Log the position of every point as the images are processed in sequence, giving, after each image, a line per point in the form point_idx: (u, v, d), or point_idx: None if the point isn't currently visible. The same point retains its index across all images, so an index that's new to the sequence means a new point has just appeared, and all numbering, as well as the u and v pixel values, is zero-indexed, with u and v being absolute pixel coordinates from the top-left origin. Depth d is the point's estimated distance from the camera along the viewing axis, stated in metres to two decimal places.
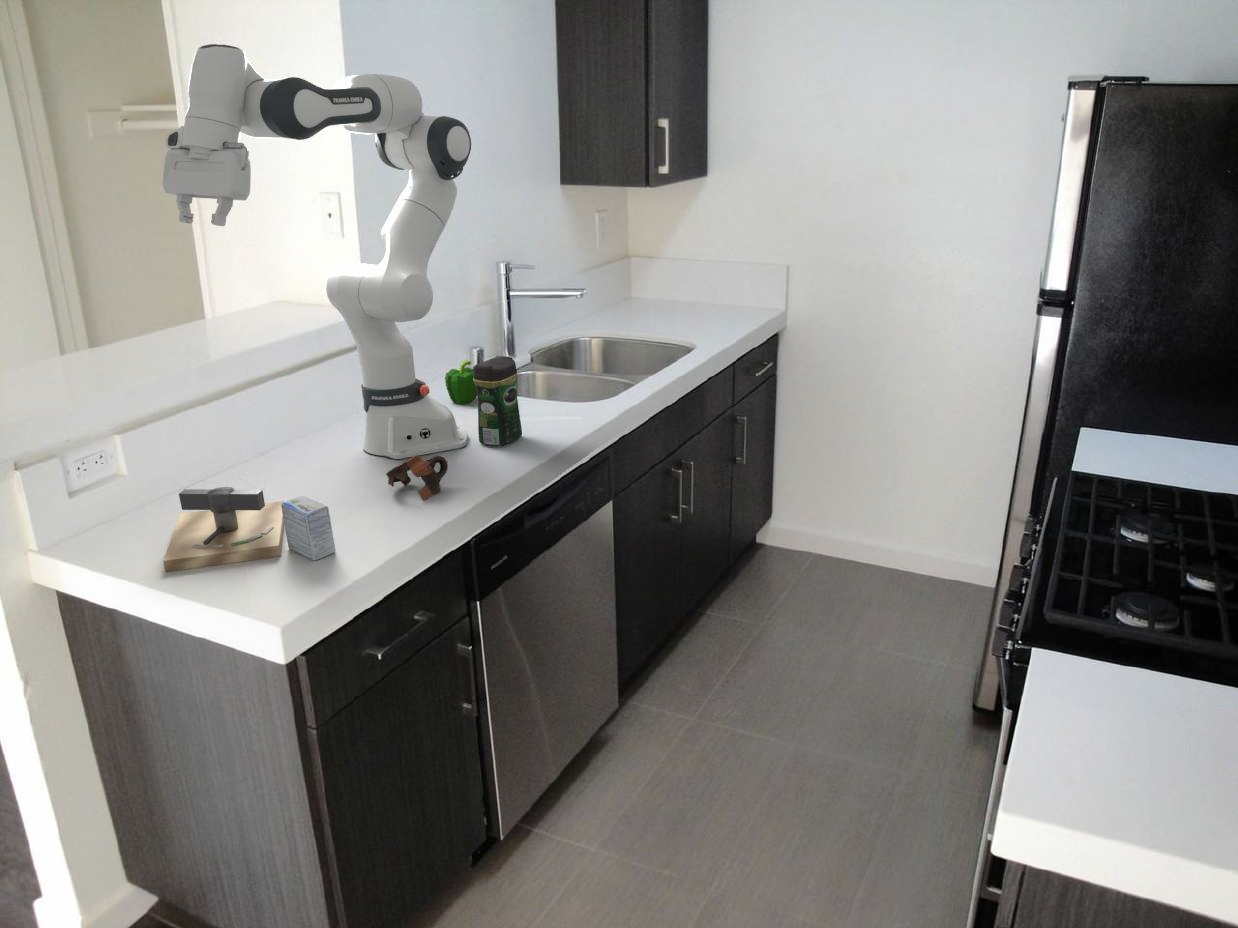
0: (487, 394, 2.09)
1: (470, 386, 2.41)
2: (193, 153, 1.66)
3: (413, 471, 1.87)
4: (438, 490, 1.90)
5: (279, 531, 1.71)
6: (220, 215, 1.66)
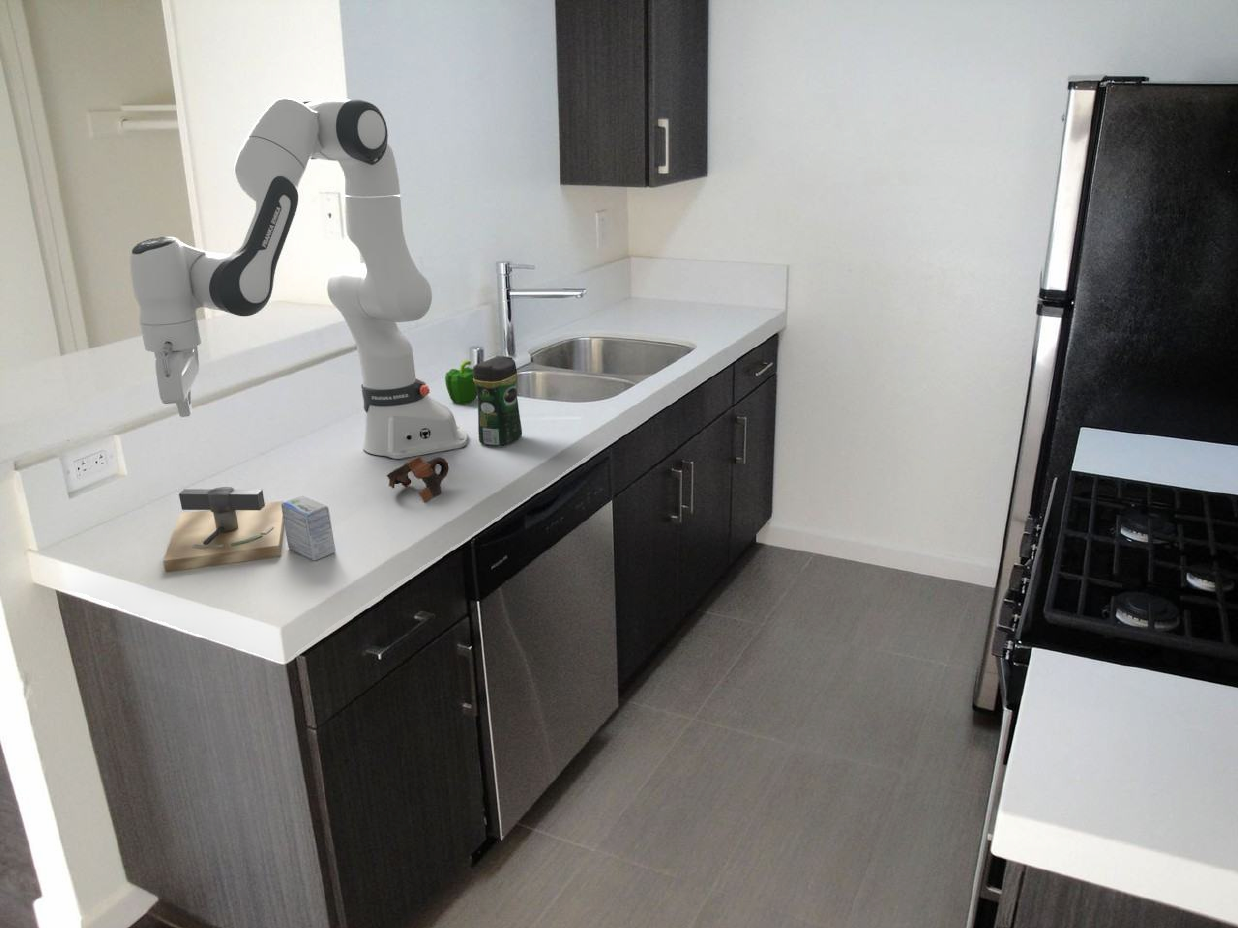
0: (487, 394, 2.09)
1: (470, 386, 2.41)
2: None
3: (414, 473, 1.86)
4: (439, 492, 1.89)
5: (279, 531, 1.71)
6: (181, 407, 1.71)
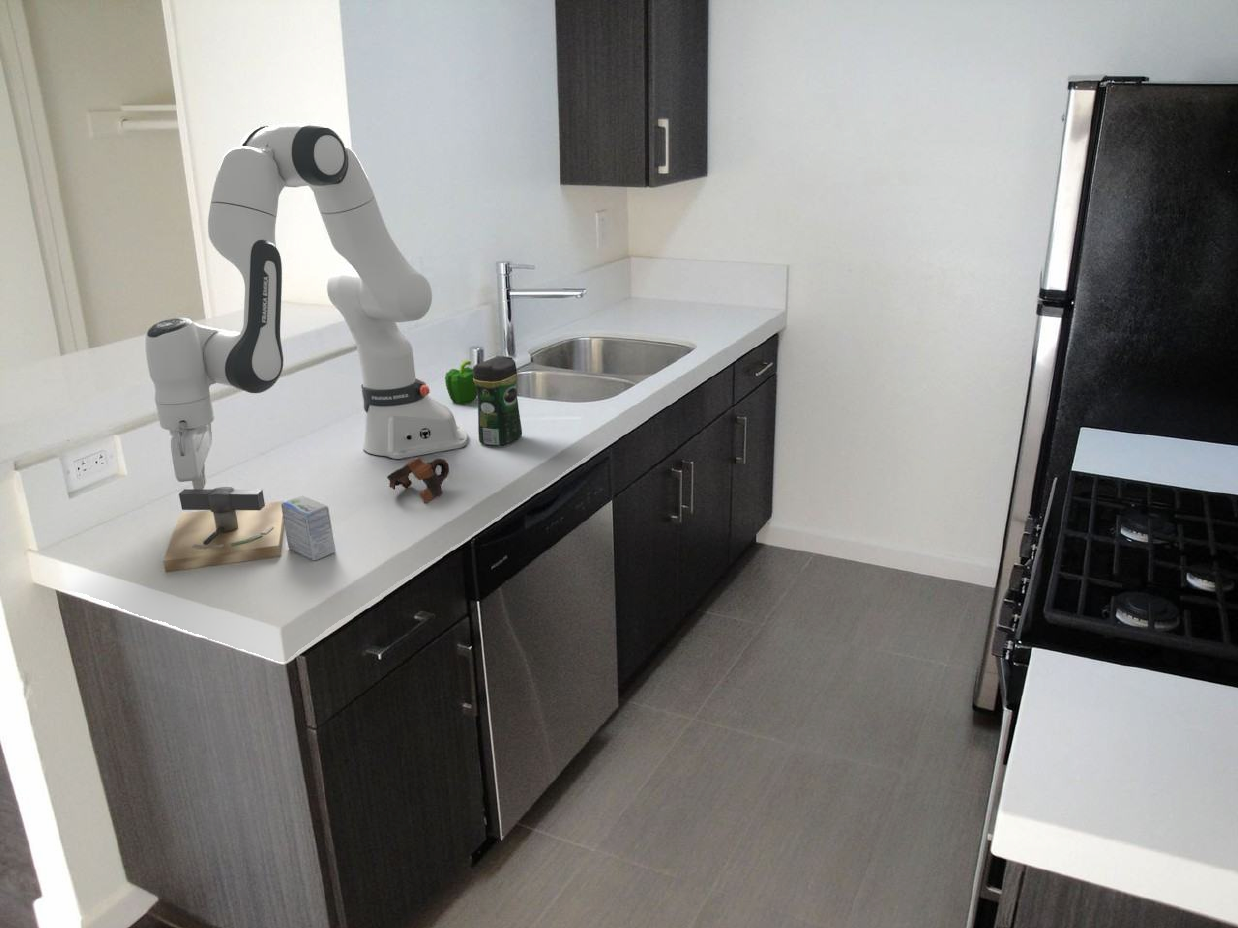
0: (487, 394, 2.09)
1: (470, 386, 2.41)
2: (169, 430, 1.72)
3: (415, 474, 1.85)
4: (440, 493, 1.88)
5: (279, 531, 1.71)
6: (195, 481, 1.75)
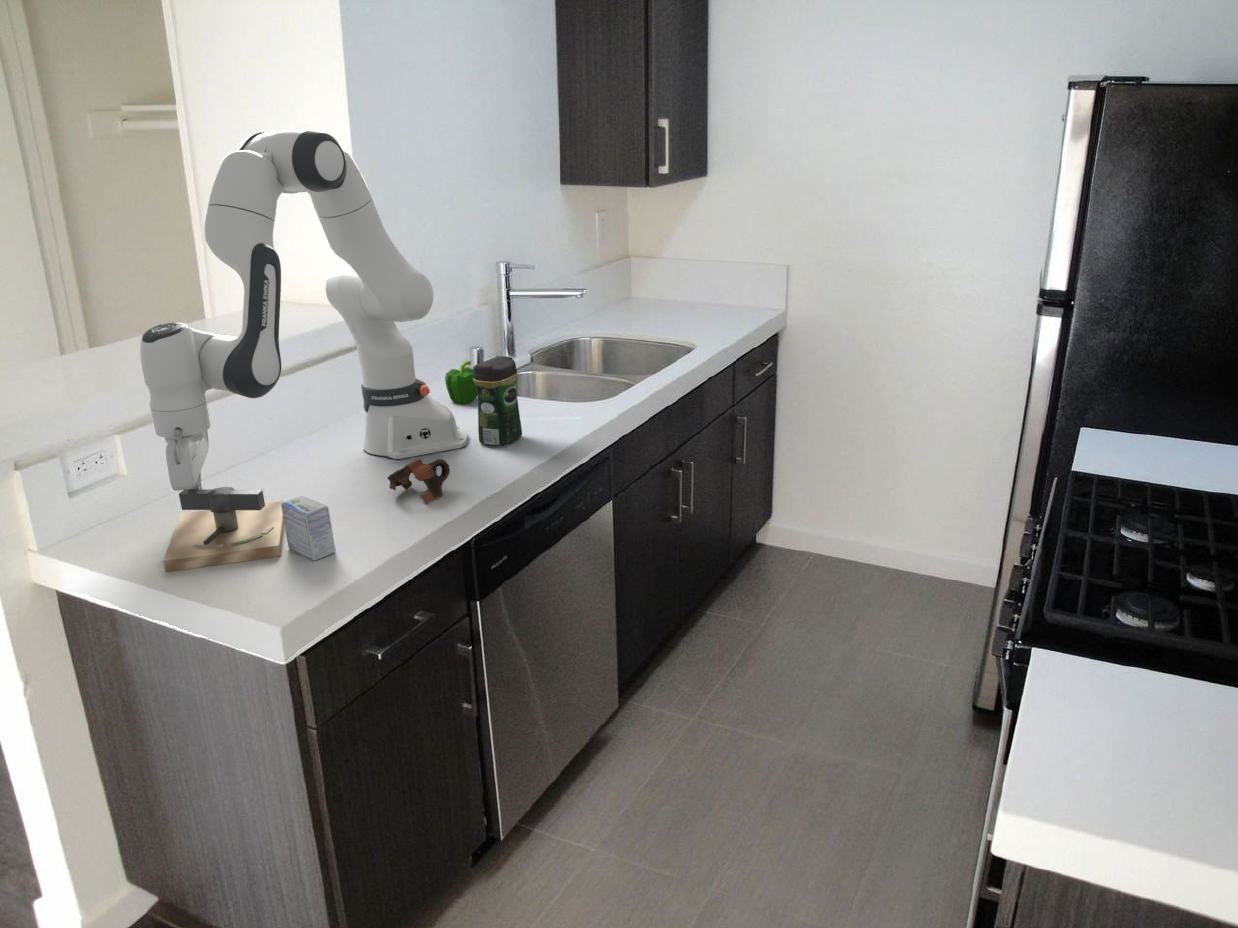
0: (487, 394, 2.09)
1: (470, 386, 2.41)
2: (165, 437, 1.69)
3: (415, 475, 1.85)
4: (440, 494, 1.88)
5: (279, 531, 1.71)
6: None
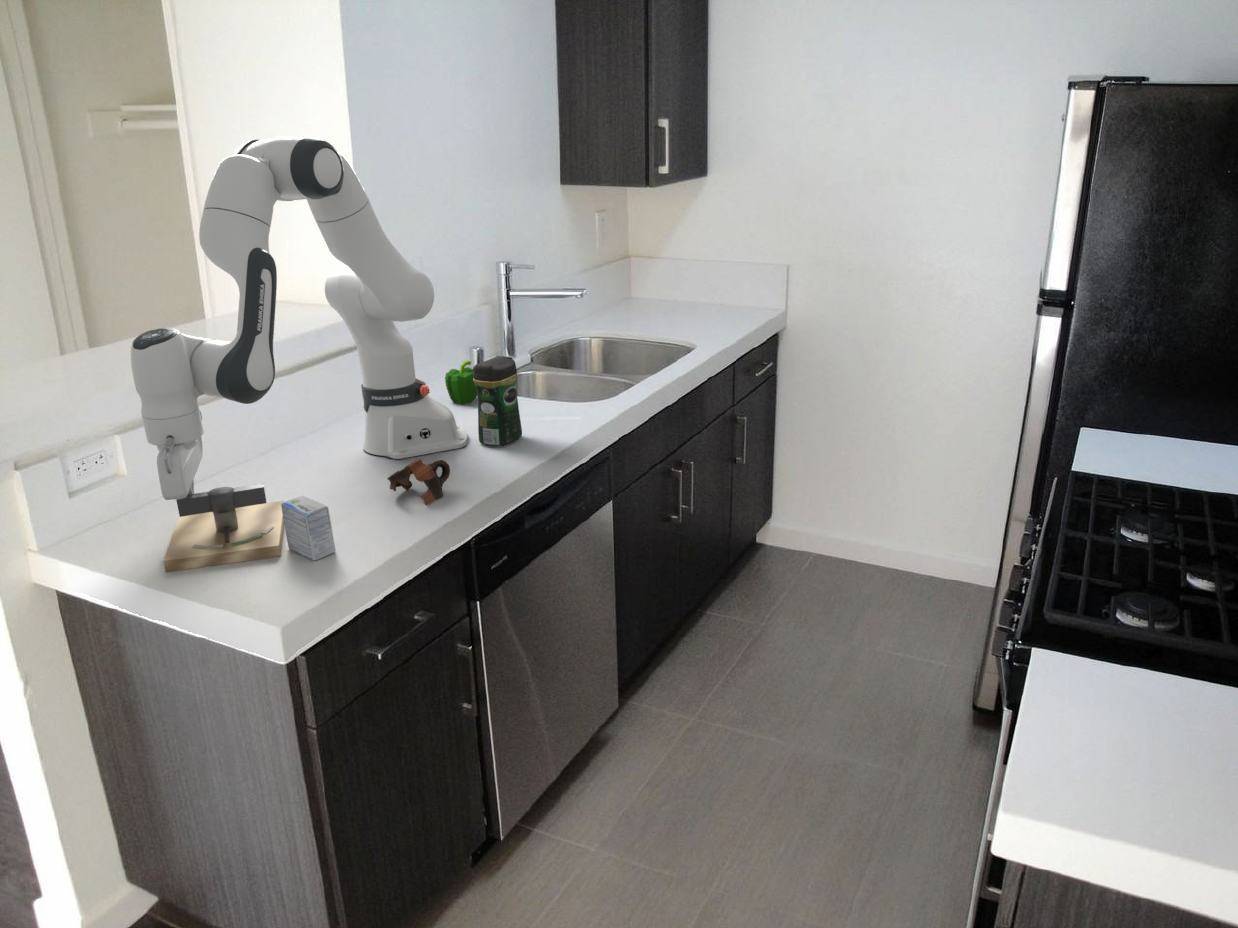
0: (487, 394, 2.09)
1: (470, 386, 2.41)
2: None
3: (416, 475, 1.84)
4: (441, 495, 1.88)
5: (279, 531, 1.71)
6: None
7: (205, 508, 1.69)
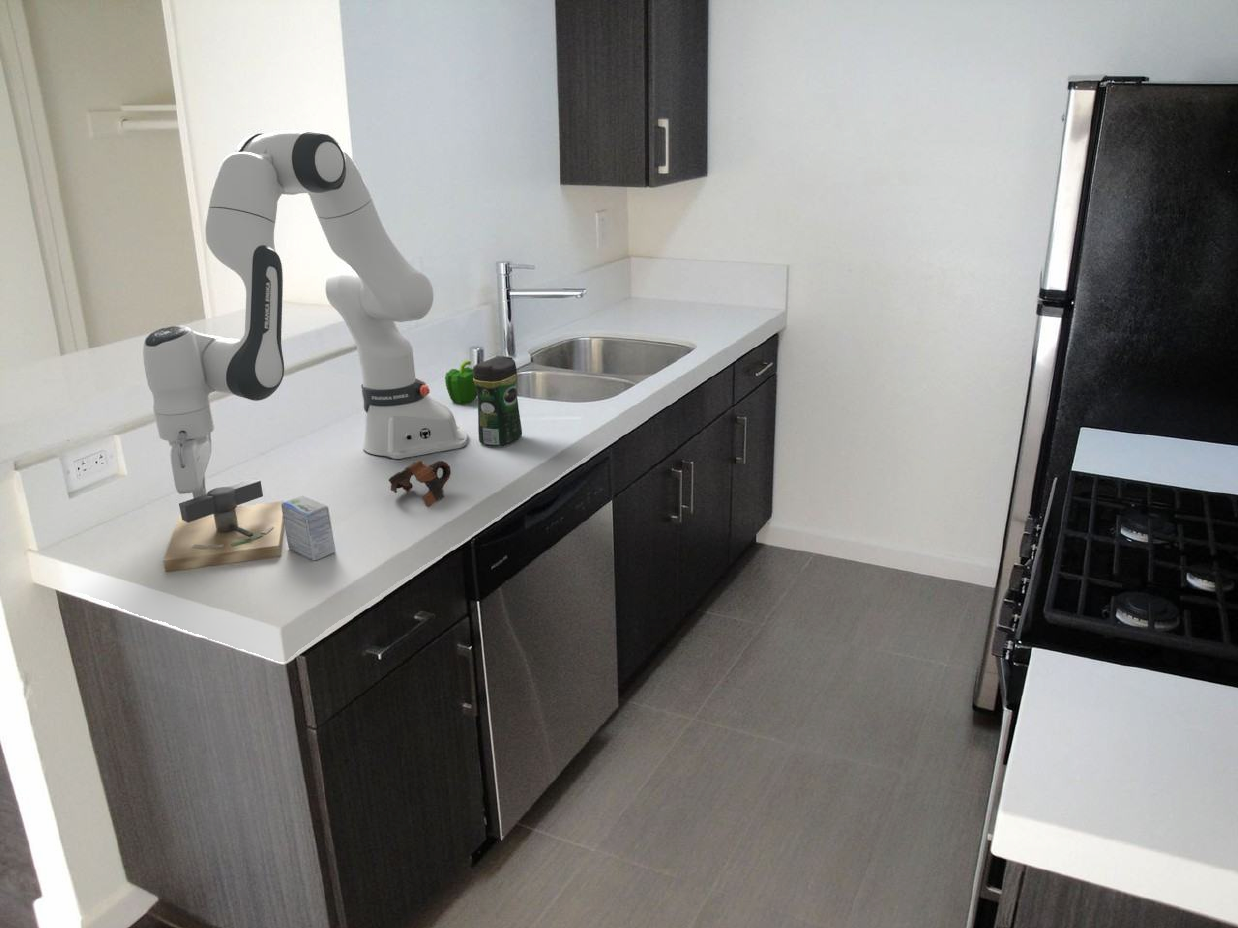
0: (487, 394, 2.09)
1: (470, 386, 2.41)
2: None
3: (417, 477, 1.84)
4: (442, 496, 1.87)
5: (279, 531, 1.71)
6: (196, 492, 1.72)
7: (210, 510, 1.68)
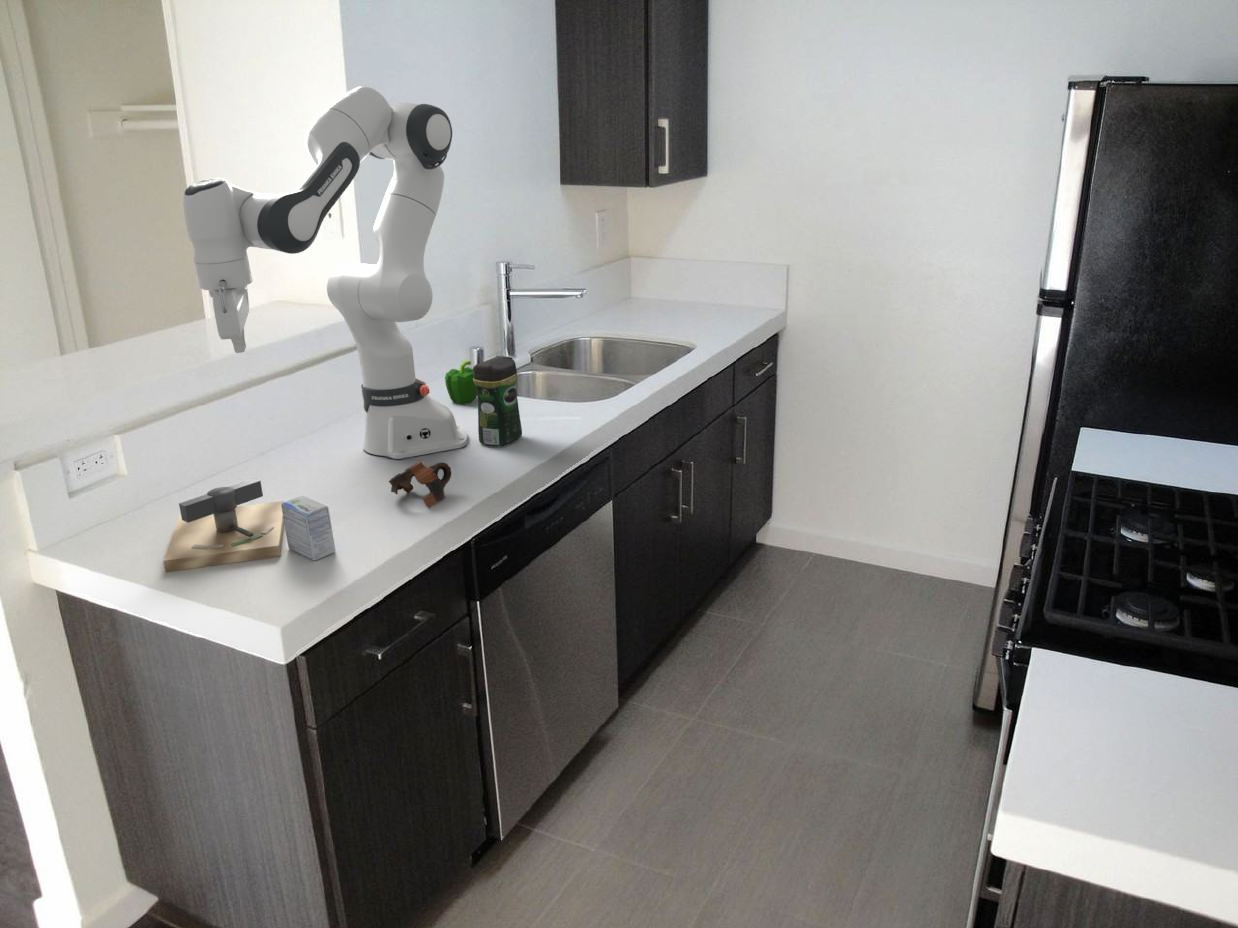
0: (487, 394, 2.09)
1: (470, 386, 2.41)
2: (209, 292, 1.75)
3: (417, 478, 1.83)
4: (442, 497, 1.86)
5: (279, 531, 1.71)
6: (236, 344, 1.79)
7: (210, 510, 1.68)
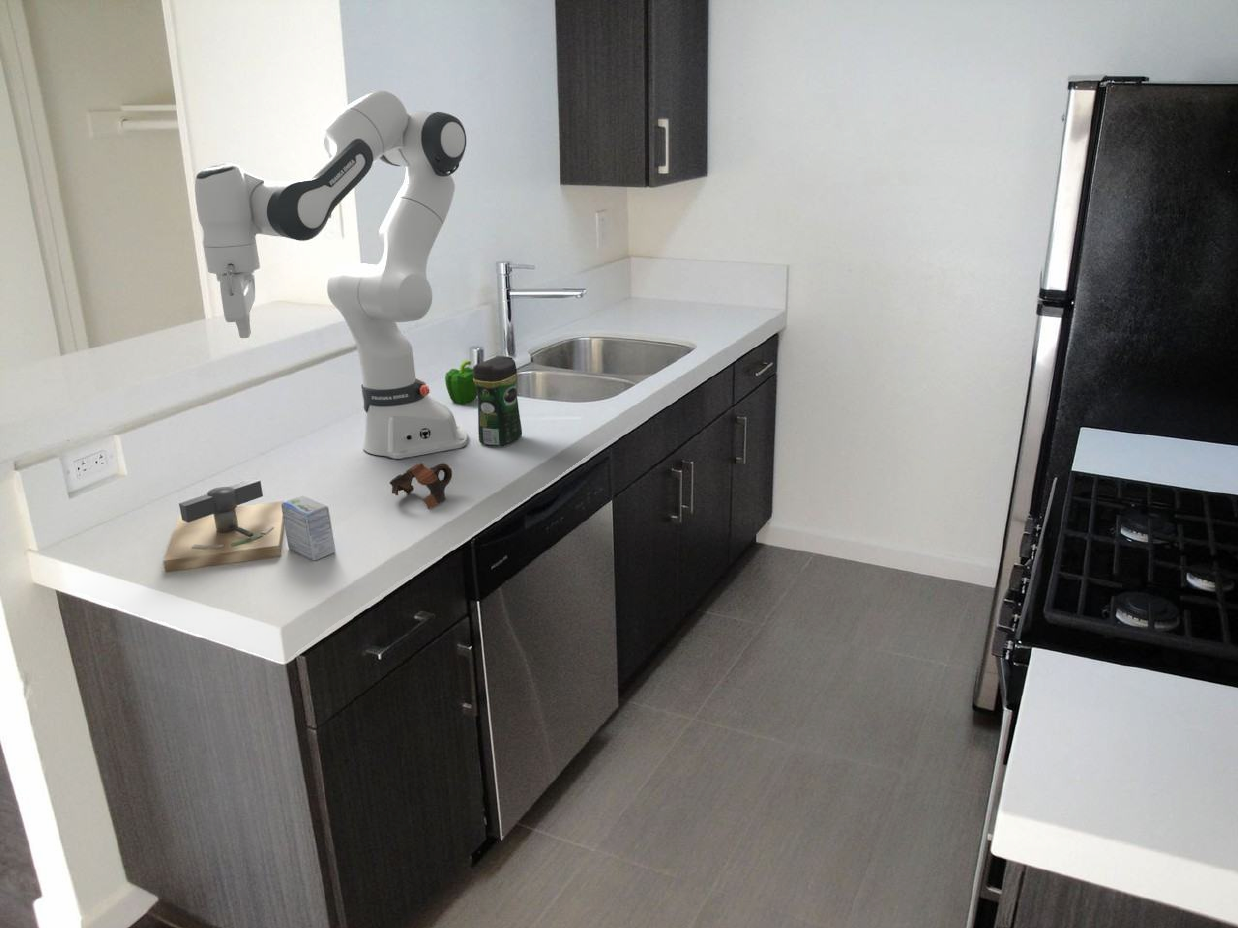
0: (487, 394, 2.09)
1: (470, 386, 2.41)
2: None
3: (418, 479, 1.82)
4: (443, 498, 1.86)
5: (279, 531, 1.71)
6: (241, 329, 1.80)
7: (210, 510, 1.68)
